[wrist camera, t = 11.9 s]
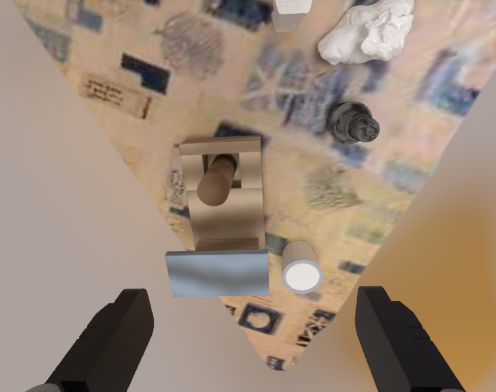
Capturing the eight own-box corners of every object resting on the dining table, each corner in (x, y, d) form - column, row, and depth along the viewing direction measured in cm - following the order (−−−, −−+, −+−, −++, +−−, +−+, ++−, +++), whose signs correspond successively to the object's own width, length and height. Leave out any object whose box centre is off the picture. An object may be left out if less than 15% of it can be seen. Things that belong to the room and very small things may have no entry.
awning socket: (183, 139, 45) (145, 164, 30) (263, 134, 44) (263, 158, 29) (198, 237, 51) (173, 296, 37) (267, 235, 50) (269, 295, 36)
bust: (314, 64, 42) (348, 110, 35) (301, 17, 35) (339, 63, 29) (392, 17, 39) (444, 58, 33) (392, -43, 33) (456, -6, 26)
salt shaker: (328, 144, 44) (350, 163, 33) (321, 107, 42) (342, 114, 30) (366, 133, 43) (402, 150, 32) (360, 95, 41) (397, 98, 30)
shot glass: (315, 268, 53) (322, 293, 46) (279, 268, 53) (281, 294, 47) (316, 237, 50) (324, 259, 44) (279, 238, 51) (281, 260, 44)
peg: (214, 176, 46) (199, 206, 35) (212, 153, 45) (194, 177, 34) (238, 175, 46) (229, 206, 35) (236, 152, 44) (227, 176, 33)
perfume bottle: (261, 24, 38) (260, -12, 24) (280, -8, 37) (290, -65, 23) (287, 45, 39) (301, 22, 25) (307, 15, 37) (333, -28, 23)
